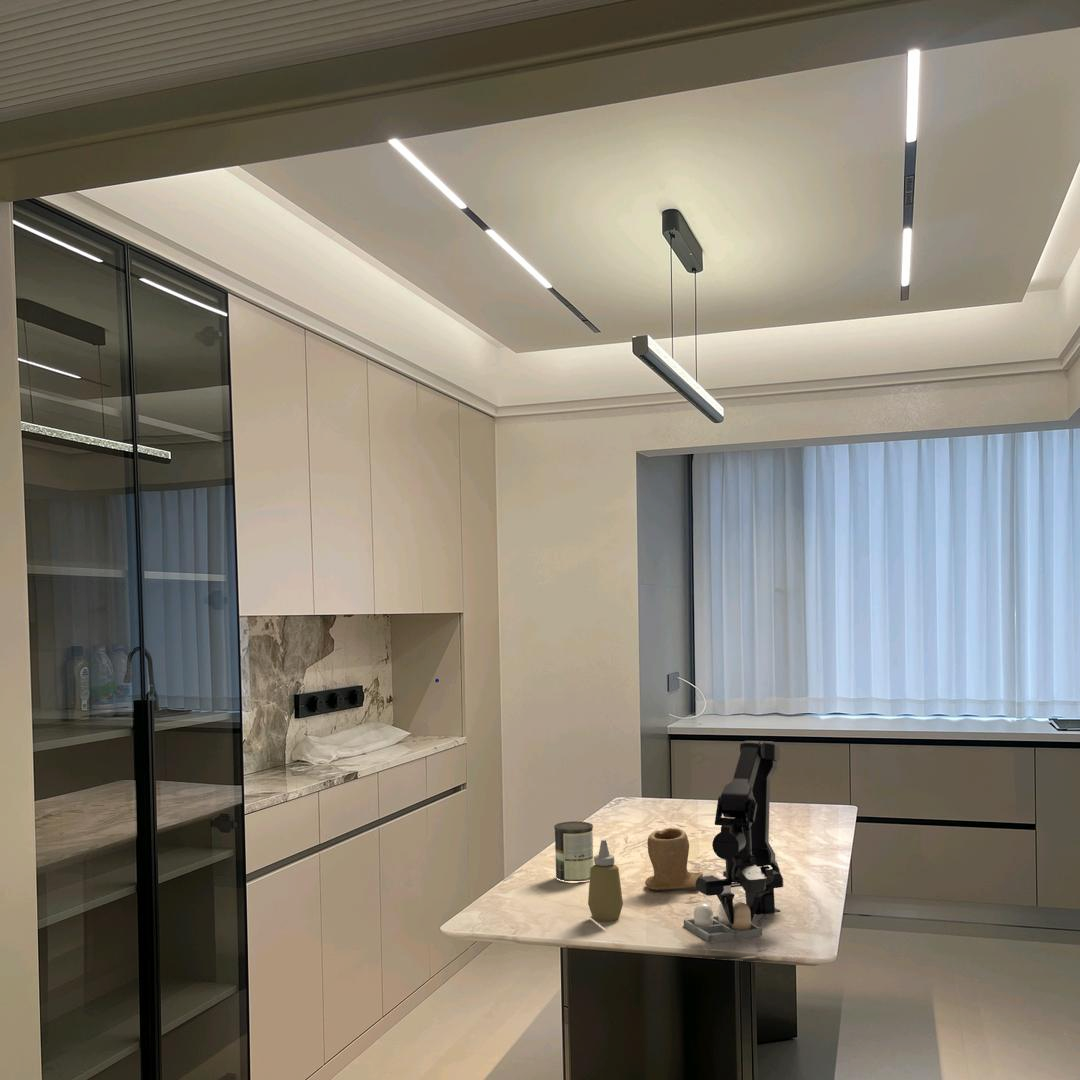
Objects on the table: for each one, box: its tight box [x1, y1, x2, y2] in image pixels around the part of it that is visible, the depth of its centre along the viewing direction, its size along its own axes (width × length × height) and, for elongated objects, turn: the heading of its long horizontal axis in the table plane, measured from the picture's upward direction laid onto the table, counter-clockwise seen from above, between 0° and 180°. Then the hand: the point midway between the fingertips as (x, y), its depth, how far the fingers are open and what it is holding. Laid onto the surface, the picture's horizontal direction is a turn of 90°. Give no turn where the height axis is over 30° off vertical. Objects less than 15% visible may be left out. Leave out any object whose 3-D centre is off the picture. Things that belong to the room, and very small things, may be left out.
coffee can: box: [554, 820, 594, 881], centre depth 284 cm, size 10×10×14 cm
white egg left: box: [717, 902, 735, 924], centre depth 237 cm, size 4×4×5 cm
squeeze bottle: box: [587, 839, 624, 923], centre depth 246 cm, size 8×8×18 cm
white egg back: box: [693, 903, 714, 927], centre depth 236 cm, size 4×4×5 cm
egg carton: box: [683, 915, 763, 943], centre depth 234 cm, size 13×13×2 cm
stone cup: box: [644, 827, 704, 891], centre depth 271 cm, size 15×12×15 cm
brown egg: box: [732, 901, 752, 930], centre depth 232 cm, size 4×4×5 cm
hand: (741, 922), depth 232 cm, fingers closed on brown egg, 4 cm apart
